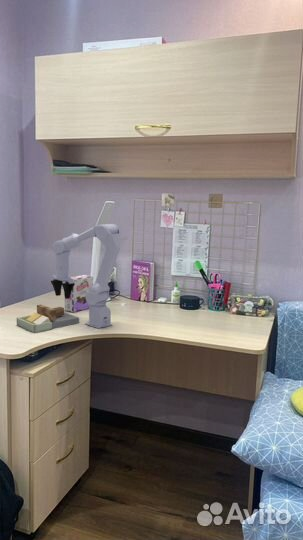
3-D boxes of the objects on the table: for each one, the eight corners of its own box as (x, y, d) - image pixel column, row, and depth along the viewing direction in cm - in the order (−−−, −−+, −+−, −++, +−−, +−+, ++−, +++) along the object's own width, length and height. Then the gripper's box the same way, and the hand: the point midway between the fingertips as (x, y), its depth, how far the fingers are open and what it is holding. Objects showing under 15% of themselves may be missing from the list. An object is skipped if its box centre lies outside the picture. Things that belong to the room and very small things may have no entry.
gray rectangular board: (79, 323, 187) (79, 316, 187) (34, 333, 172) (34, 325, 171) (61, 316, 198) (61, 309, 197) (16, 325, 183) (16, 317, 182)
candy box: (72, 313, 204) (72, 279, 202) (64, 311, 208) (64, 277, 205) (93, 307, 215) (93, 275, 213) (85, 306, 219) (85, 274, 216)
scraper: (70, 317, 185) (70, 307, 184) (51, 320, 178) (51, 310, 178) (54, 311, 193) (54, 302, 193) (37, 315, 187) (36, 305, 187)
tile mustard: (43, 318, 183) (41, 314, 182) (33, 325, 180) (31, 321, 179) (37, 316, 187) (35, 312, 186) (27, 323, 184) (25, 319, 183)
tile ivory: (50, 321, 179) (48, 317, 178) (41, 328, 176) (38, 324, 175) (44, 319, 182) (42, 315, 181) (34, 326, 180) (32, 322, 179)
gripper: (46, 266, 194) (46, 295, 196) (63, 270, 183) (63, 300, 185) (59, 264, 198) (59, 293, 201) (77, 268, 188) (77, 298, 190)
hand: (62, 296), depth 193 cm, fingers open, 7 cm apart
